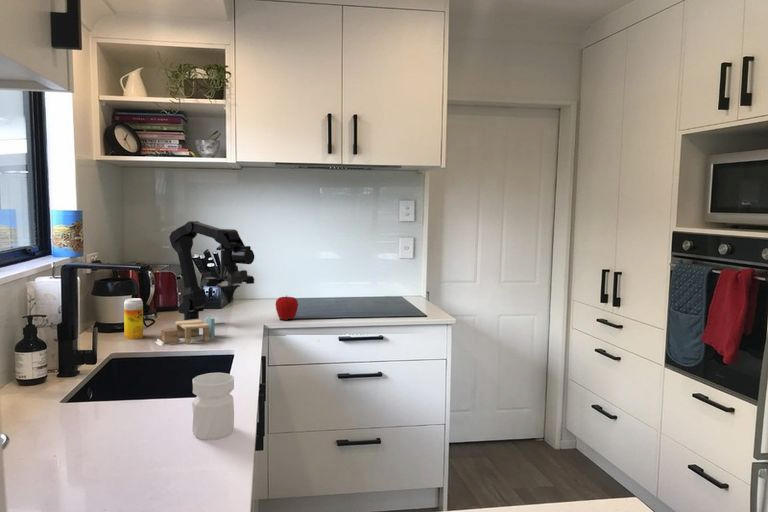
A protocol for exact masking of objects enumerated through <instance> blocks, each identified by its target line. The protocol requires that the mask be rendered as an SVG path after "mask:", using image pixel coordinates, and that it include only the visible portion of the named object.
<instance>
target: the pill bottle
mask: <svg viewBox="0 0 768 512" xmlns="http://www.w3.org/2000/svg"><path fill="white" fill-rule="evenodd" d="M191 382H192V394H193V395H195V396H196V397H195V398H193V400H192V401H191V403H192V405H191V406H192V434H193V436H194V437H195V439H199V440H200V439H201V440H203V441H204V440H205V441H208V440H209V441H211V440H213V441H214V440H220V439H223V438H226V437H228V436H230V435H231V434H233V433H234V430H235V410H234V409H235V403H234V401H235V400H234V396H233V395H232V394H231V393H232V392H233V391H234V389H235V376H234V375H231V374H230V373H226V372H209V373H204V374H200V375H196V376H195V377H193V378H192V381H191Z"/></svg>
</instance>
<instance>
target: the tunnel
mask: <svg viewBox="0 0 768 512" xmlns="http://www.w3.org/2000/svg"><path fill="white" fill-rule="evenodd" d="M174 324H175V327H174V328H175V329H177V330H178V339H180V338H185V342H184V344H186V345H191V344H192V341H191V337H195V336H200V329H202V336H203V340H202V341H203V342H210V339H209V324H207V323H206V321H205V322H204V321H203V320H201V319H200V318H199V319H192V320H184V319H183V320H176V321H175V323H174Z"/></svg>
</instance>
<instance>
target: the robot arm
mask: <svg viewBox="0 0 768 512" xmlns="http://www.w3.org/2000/svg"><path fill="white" fill-rule="evenodd" d="M198 235H202V236H205V237H208V238H211V239H214V241H215V242H216V243H218V244H219V246H217V247H216V251H220V264H219V268H220V275H219V278H216V277H214V276H209V277H203V278H202V279H201V285H202V286H204V287H207V288H209V287H210V288H211V287H217V288H220V291H222V294H223V297H224V298H225V301H226V303H227V304H230V303H231V302H232V298H233V296H234V293H235V291H236V290H237V289H238V287H241V284H242V283H245V284H246V285H252V284H253V285H254V284H255V278H254V276H253V275H249V274H248V271H247V270H246V269H244V270H239V266H238V265H237V264H239V265H240V264H241V265H242V264H243V265H251V264H252V263H253V262H254V261H255V254H254V251H253V250H252V247H251V246H250V245H245V244H244V242H243V240H242V238H241V236H240V234H239V231H238V230H236V229H235V228H234V229H233V228H219V227H215V226H213V225H209V224H206V223H203V222H200V221H197V220H195V221H194V220H192V221H191V220H190V221H188V222H186V223H185V224H183V225H181V226H180V227H178V228H176V229H175V230H173V231H171V232H170V235H169V241H170V245H171V247H172V249H173V250H174V251H175V252H176V254H177V256H178V260H179V264H180V266H179V267H180V270H181V275H182V279H183V284H184V291H183V294H182V302H181V304H180V305H179V306H178V307H177V311H178V313H179V314H182V315H183V320H192V319H199V320H200V312H203V311H204V309H205V306H206V304H207V299H208V297H207V295H206V290H205V289H204V288H201V287H200V286H199V283H198V277H197V274H196V270H195V264H194V260H193V255H192V248H193V246H194V239H195V238H196V237H197V236H198Z"/></svg>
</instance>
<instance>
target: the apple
mask: <svg viewBox="0 0 768 512" xmlns="http://www.w3.org/2000/svg"><path fill="white" fill-rule="evenodd" d="M298 307H299V302H298V299H296V297H293V296H288V295H285V296H281V297H278V298H277V299H276V300H275V311H276V313H277V315H278V318H279V319H280V320H282V319H283V320H282V321H289V320H288V319H291V320H292V319H294V318H295V317H296V315H297V313H298Z"/></svg>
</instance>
